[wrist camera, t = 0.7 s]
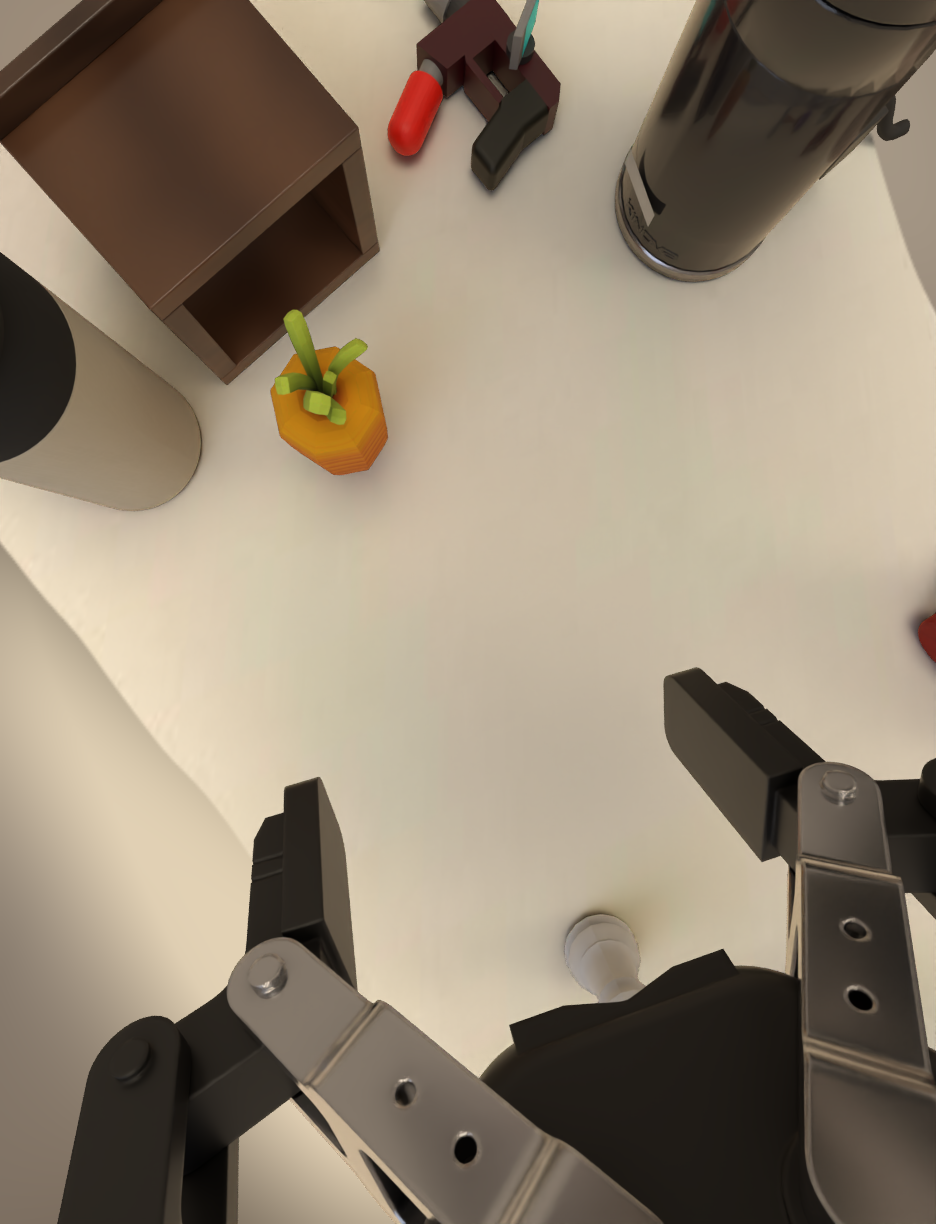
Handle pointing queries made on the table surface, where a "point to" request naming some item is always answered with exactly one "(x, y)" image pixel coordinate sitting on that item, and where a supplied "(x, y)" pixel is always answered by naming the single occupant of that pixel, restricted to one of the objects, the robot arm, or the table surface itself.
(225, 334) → the shelf
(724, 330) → the table surface
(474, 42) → the toy gun
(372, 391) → the carrot
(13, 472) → the travel mug
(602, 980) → the rook chess piece
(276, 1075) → the robot arm
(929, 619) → the toy fire truck
